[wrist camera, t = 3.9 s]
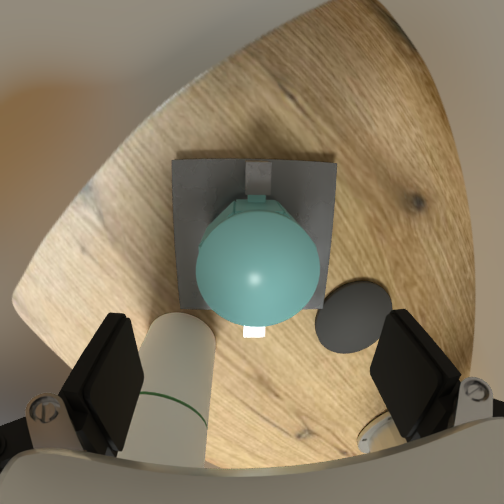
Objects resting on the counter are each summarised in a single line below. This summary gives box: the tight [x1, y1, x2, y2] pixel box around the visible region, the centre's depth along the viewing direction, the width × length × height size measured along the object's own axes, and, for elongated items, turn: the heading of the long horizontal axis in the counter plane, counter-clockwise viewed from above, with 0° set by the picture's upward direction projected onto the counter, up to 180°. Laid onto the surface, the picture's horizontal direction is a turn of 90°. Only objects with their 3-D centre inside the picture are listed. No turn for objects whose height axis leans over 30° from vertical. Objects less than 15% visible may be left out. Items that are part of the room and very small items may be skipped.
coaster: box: [315, 281, 392, 354], centre depth 28 cm, size 8×8×1 cm
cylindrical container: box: [116, 312, 216, 468], centre depth 16 cm, size 7×7×25 cm
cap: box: [196, 195, 320, 327], centre depth 20 cm, size 10×7×5 cm
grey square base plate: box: [172, 158, 337, 337], centre depth 22 cm, size 13×13×7 cm
